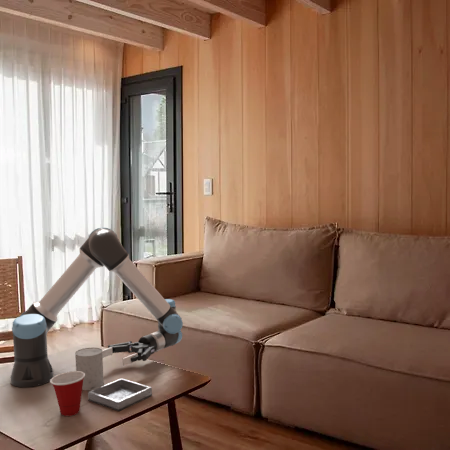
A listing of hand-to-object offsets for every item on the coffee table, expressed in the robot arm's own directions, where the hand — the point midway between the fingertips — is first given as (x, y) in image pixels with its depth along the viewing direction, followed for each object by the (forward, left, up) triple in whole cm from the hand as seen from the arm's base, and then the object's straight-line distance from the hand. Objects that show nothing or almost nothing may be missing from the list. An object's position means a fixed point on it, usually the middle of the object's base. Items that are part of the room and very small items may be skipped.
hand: (110, 358), depth 212 cm
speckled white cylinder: (0, -10, -7) cm, 12 cm away
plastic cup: (+13, -29, -7) cm, 32 cm away
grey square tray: (+18, -12, -7) cm, 23 cm away
